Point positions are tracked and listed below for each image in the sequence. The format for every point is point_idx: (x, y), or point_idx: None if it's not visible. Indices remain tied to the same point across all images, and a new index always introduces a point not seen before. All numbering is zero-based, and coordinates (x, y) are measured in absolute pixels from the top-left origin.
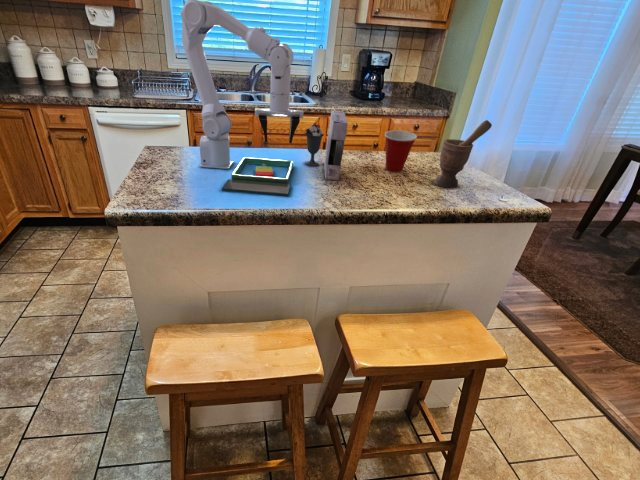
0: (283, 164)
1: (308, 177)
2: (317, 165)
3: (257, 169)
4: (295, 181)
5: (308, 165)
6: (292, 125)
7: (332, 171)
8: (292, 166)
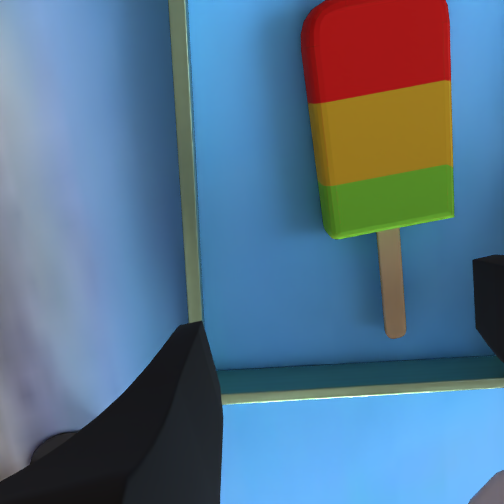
0: (260, 376)
1: (43, 186)
2: (34, 452)
3: (443, 131)
4: (123, 57)
5: None
6: (137, 442)
7: None
8: None
